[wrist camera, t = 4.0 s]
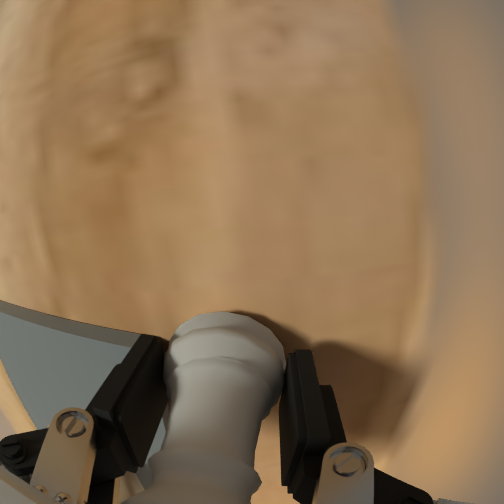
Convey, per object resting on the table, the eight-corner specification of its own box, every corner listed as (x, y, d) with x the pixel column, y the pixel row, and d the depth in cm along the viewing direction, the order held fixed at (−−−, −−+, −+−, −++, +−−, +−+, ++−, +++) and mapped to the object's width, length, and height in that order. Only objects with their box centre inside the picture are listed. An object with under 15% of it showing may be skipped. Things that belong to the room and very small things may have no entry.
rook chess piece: (288, 305, 10) (322, 546, 2) (282, 396, 11) (288, 574, 3) (163, 301, 10) (41, 490, 2) (179, 391, 11) (124, 552, 3)
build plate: (-8, 297, 11) (-18, 304, 10) (157, 336, 10) (149, 350, 9) (70, 462, 15) (66, 469, 14) (191, 499, 15) (189, 509, 14)
